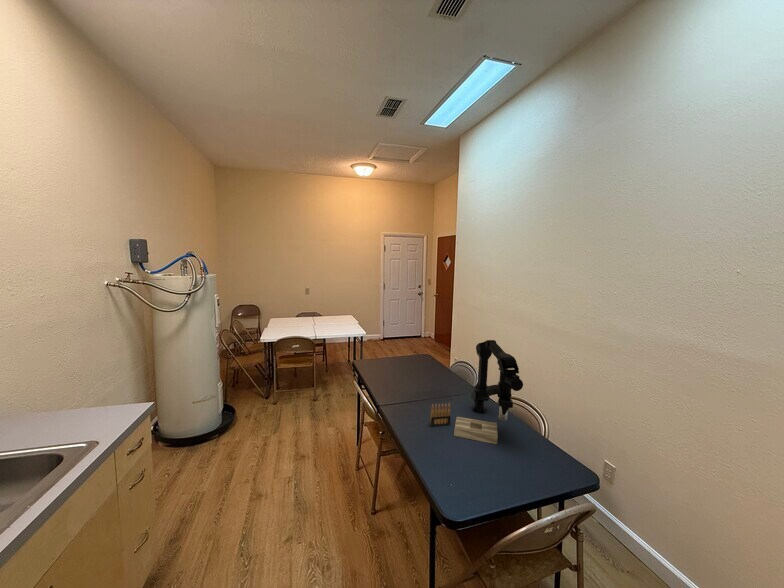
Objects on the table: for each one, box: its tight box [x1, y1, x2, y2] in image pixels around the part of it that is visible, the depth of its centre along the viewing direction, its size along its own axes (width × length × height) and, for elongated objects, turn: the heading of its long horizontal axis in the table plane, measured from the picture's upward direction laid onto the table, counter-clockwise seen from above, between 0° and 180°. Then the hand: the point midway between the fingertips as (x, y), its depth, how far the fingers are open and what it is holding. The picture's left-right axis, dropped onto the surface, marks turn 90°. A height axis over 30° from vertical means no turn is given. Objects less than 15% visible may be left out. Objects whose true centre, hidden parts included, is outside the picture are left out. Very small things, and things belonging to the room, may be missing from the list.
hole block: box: [453, 416, 499, 445], centre depth 158 cm, size 12×20×4 cm, turn 73°
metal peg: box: [498, 405, 509, 421], centre depth 154 cm, size 4×4×10 cm
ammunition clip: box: [429, 402, 451, 428], centre depth 164 cm, size 11×2×12 cm, turn 100°
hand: (503, 412), depth 155 cm, fingers closed on metal peg, 4 cm apart
